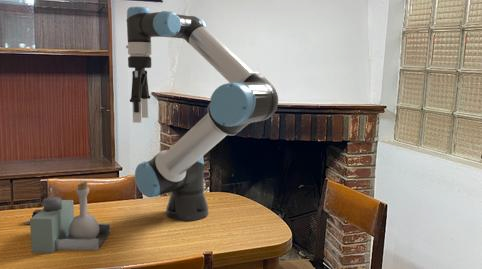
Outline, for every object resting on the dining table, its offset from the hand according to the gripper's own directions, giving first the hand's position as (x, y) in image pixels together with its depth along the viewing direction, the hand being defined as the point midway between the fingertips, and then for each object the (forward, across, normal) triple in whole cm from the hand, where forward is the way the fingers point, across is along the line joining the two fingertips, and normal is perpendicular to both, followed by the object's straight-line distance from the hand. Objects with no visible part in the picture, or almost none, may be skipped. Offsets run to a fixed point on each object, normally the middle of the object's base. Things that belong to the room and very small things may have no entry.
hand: (141, 120), depth 151 cm
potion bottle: (+34, +19, -14) cm, 42 cm away
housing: (+35, +19, -24) cm, 46 cm away
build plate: (+35, +3, -34) cm, 49 cm away
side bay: (+35, +20, -14) cm, 42 cm away
